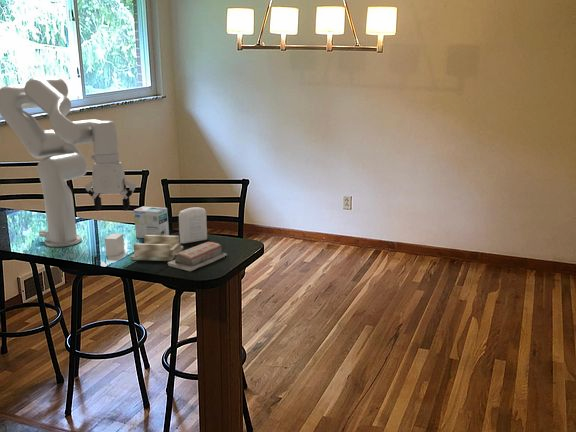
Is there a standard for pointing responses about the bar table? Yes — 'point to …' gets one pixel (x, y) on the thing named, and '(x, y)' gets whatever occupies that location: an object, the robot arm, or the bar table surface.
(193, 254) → the packaged product
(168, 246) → the beige wooden tray
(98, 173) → the robot arm
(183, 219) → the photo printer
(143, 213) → the light bulb box
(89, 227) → the bar table surface
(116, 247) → the white rectangular block
